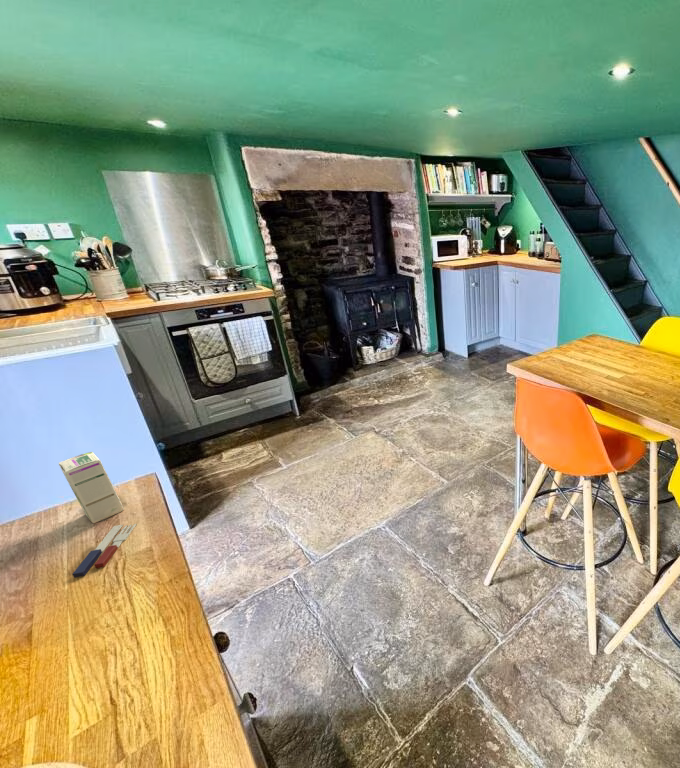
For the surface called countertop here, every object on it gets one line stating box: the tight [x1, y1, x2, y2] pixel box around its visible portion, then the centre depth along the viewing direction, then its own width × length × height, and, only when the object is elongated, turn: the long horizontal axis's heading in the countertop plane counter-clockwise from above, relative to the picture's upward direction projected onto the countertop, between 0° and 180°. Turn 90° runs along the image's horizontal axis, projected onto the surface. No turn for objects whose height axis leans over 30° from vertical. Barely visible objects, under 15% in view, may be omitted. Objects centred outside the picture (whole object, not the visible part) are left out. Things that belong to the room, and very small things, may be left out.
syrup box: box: [58, 451, 125, 524], centre depth 90 cm, size 6×6×14 cm
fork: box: [93, 523, 137, 569], centre depth 84 cm, size 2×12×1 cm, turn 18°
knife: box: [72, 524, 124, 579], centre depth 83 cm, size 2×14×1 cm, turn 18°
